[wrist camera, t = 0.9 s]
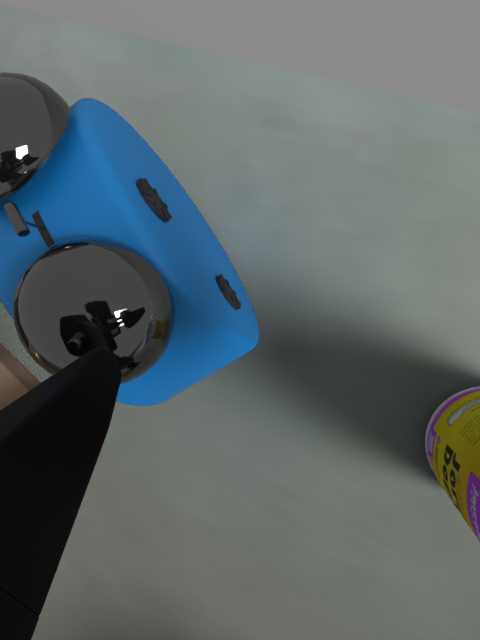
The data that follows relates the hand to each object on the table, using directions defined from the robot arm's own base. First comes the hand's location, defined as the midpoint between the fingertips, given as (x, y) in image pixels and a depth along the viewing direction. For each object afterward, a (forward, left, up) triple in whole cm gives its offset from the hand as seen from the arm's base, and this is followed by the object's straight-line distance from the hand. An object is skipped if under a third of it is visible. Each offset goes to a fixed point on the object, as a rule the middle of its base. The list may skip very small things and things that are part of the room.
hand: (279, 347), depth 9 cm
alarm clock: (+5, +7, -15) cm, 17 cm away
